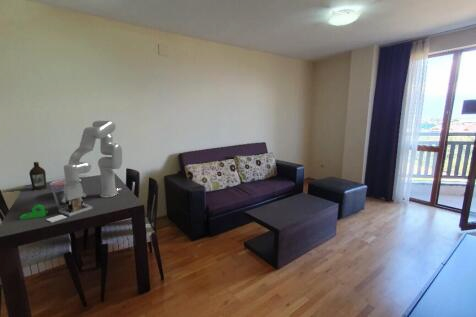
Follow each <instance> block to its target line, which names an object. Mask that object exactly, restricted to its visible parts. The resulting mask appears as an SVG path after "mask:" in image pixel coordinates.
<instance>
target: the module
mask: <svg viewBox="0 0 476 317" xmlns="http://www.w3.org/2000/svg"><path fill="white" fill-rule="evenodd" d="M71 204H72V208H73V210H70V209H69V212H73V211H77V210H80V209H83V206H81V199H79V198H77V199H73V200H72V201H71Z"/></svg>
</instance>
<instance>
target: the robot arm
mask: <svg viewBox="0 0 476 317" xmlns="http://www.w3.org/2000/svg"><path fill="white" fill-rule="evenodd" d="M115 130H116V124H115V122H114V121H112V120H96V121H93V122H92V126H87V127H85V128H84V129H83V132H82V135H81V139H80V142H79V146H78V147H77V148H76V149H75V150H74V151H73V153H72V154H71V155H70V157H69V159H68V163H67V164H65V165H64V166H63V172H64V179H65V182H66V185H65V186H64V198H63V199H62V202H65V203H67V204H68V206H67V207H68V208H69V209H68V210H69V211H70V210H73V208H72V204H71V201H72V200H73V199H77V198H79V199H81V206H82V201H83V202H84V199H85V198H86V196H87V194H86V193H85V192H84V191H83V190H84V189H83V185H82V184H81V182H82V179H80V175H81V174H86V173H89V172H90V171H91V169H92V165H91V163H89V162H83V161H81V159H82V157H83V156H85V155H86V154H89V153H90V152H92V151H93V150H94V149H95V144H96V140H97V139H98V140H99V142H100V146H99V147H100V149H99V150H100V153H101V154H102V155H104V156H103V157H100V158H99V159H98V161H97V165H98V168H99V173H100V181H101V182H100V183H101V190H102V193H101V194H100V197H101V198H111V197H116V196H118V195H119V192H120V191H122V188H121V187H119V188H117V187H116V179H115V176H116V174H115V172H114V170H119V169H121V167H122V165H123V148H122V146H121V145H120V144H119V143H116V142H115V143H114V141H113V140H114V139H113V135H112V133H113V132H115ZM117 194H118V195H117ZM115 195H116V196H115ZM66 199H67V201H65V200H66ZM82 207H83V206H82Z"/></svg>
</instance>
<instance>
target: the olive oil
mask: <svg viewBox="0 0 476 317" xmlns="http://www.w3.org/2000/svg"><path fill="white" fill-rule="evenodd" d="M46 175H47V174H46V171H45V169H44V168H43V167H41V166H40V164H39V161H34V162H33V167H32V168H31V169H30V170H29V178H30V183H31V187H32V191H34V190H37V191H43V190H46V189H47V188H48V187H47V186H48V185H47V176H46ZM42 189H43V190H42Z"/></svg>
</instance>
